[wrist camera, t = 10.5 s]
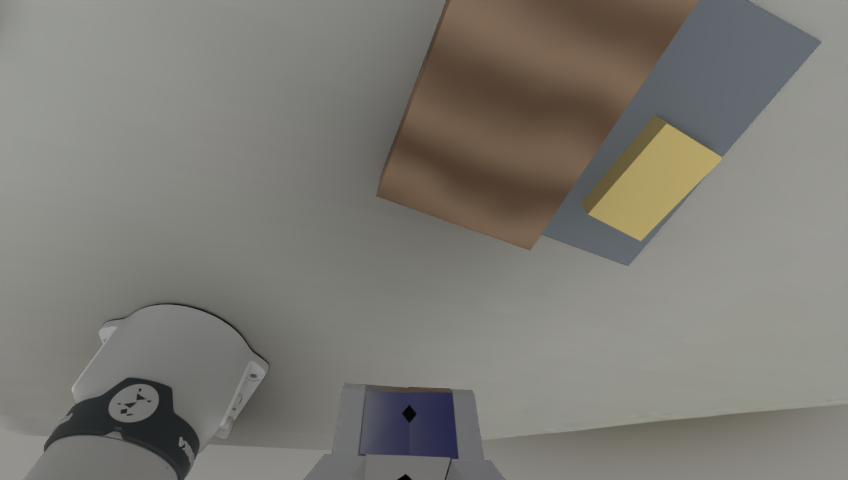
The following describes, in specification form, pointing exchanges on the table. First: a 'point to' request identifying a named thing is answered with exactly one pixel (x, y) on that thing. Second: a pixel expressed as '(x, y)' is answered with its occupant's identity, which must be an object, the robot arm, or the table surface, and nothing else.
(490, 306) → the table surface
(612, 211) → the yellow rectangular block
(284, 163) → the table surface
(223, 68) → the table surface
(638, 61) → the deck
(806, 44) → the mat
